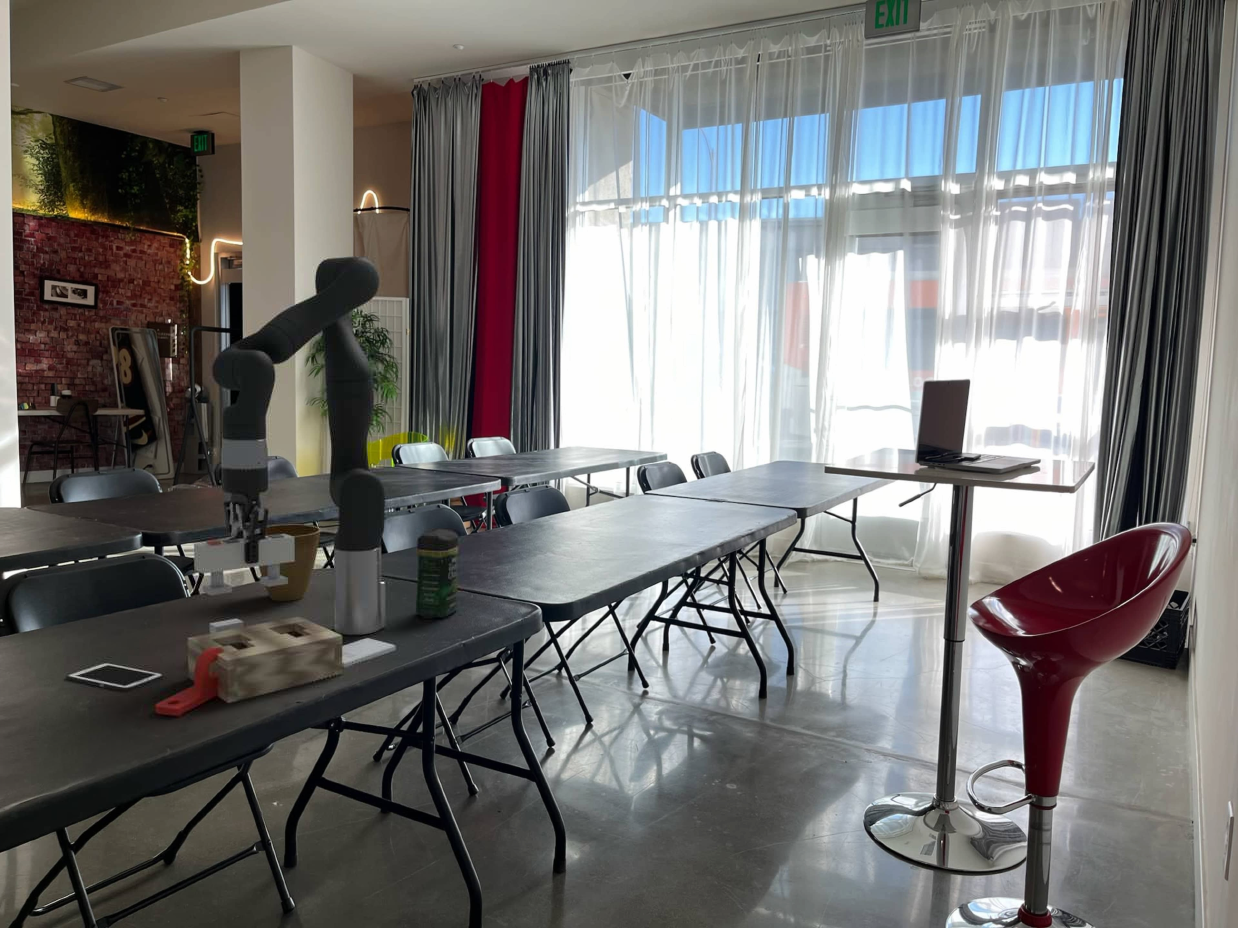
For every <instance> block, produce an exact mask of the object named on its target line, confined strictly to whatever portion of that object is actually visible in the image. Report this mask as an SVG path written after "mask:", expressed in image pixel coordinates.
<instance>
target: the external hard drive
mask: <svg viewBox="0 0 1238 928" xmlns="http://www.w3.org/2000/svg"><path fill="white" fill-rule="evenodd" d="M394 651H396V645H394V643H393V644H391V643H388V642H384V641H381V640H376V639H373V638H368V637H367V638H363V639H359V640H357V641H354V642H350V643H347V644H345V645H342V668H343V667H344V668H348V667H351V666H354V665H357V664H359V662H360V663H362V661H363V662H366V661H369V660H371V659H374V658H377V657H380V656H383V655H386V654H389V653H391V652H394ZM365 660H366V661H365ZM356 663H357V664H356ZM353 664H354V665H353ZM344 668H343V669H344Z"/></svg>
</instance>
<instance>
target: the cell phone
mask: <svg viewBox="0 0 1238 928" xmlns="http://www.w3.org/2000/svg"><path fill="white" fill-rule="evenodd" d="M65 677H66V680H68V681H72V682H75V683H80V684H86V685H91V686H95V687H102V688H105V689H109V690H115V691H118V692H124V693H125V692H127V693H128V692H133V691H135V690H137V689H139V688H143V687H146V686H149V685H151V684H153V683H156V682H159V681H161V680H164V678H165V675H164V673H161V672H156V671H151V670H147V669H142V668H138V667H137V668H136V667H131V666H127V665H120V664H115V663H111V662H103V663H98V664H96V665H93V666H88V667H85V668H82V669H79V670H77V671H74V672H71V673H68V674H67V675H66V676H65Z"/></svg>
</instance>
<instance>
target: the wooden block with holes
mask: <svg viewBox="0 0 1238 928" xmlns="http://www.w3.org/2000/svg"><path fill="white" fill-rule="evenodd" d="M342 646H343V634H341V633H338V632H336V631H332V630H331V629H328V628H327V627H324V626H321V625H320V624H317V623H315V622H312V621H309V620H308V619H306V618H302V617H300V616H294V617H290V618H289V617H288V618H284V619H279V620H274V621H268V622H261V623H257V624H253V625H248V626H244V627H242V628H237V629H231V630H226V631H221V632H216V633H211V634H210V633H206V634H202V635H195V636H192V637H188V638H187V662H188V663H187V664H188V665H187V666H188V667H187V668H188V678H189V679H190V680H192V681H193V682H194V670H195V665H196V662H197V660H198V658H199V656H200V655H201V654H202V652H203V651H205V650H206V649H208V648H211V647H213V648H221V649H223V650H224V651H223V652H221V653H219V654H217V660H216V661H214V662H212V663H211V665H210V667H209V676H211V675H212V673H213V671H214V672H215V674H216V675H217V685H218V695H217V696H216V697H218V698H220V699H221V700H223V701H225V702H226V703H227V704H230V703H233V702H235V703H236V702H238V701H242V700H246V699H250V698H254V697H257V696H262V695H266V694H268V693H270V694H271V693H273V692H276V691H281V690H284V689H289V688H294V687H297V686H301V685H305V684H308V683H313V682H316V680H317V681H320V680H319V679H321V680H324V679H323V678H325V679H328V678H327V677H329V678H332V676H333V677H335V675H336V676H340V675H343V667H342ZM339 674H340V675H339ZM312 681H313V682H312Z"/></svg>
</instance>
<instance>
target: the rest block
mask: <svg viewBox="0 0 1238 928" xmlns="http://www.w3.org/2000/svg"><path fill="white" fill-rule="evenodd" d="M244 622H245V621H243V620H241V619H238V618H232V619H227V620H222V621H215V622H210V623H209V634H211V633H216V632H221V631H226V630H231V629H237V628H242V627H245V626H244V625H245V624H244Z"/></svg>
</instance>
